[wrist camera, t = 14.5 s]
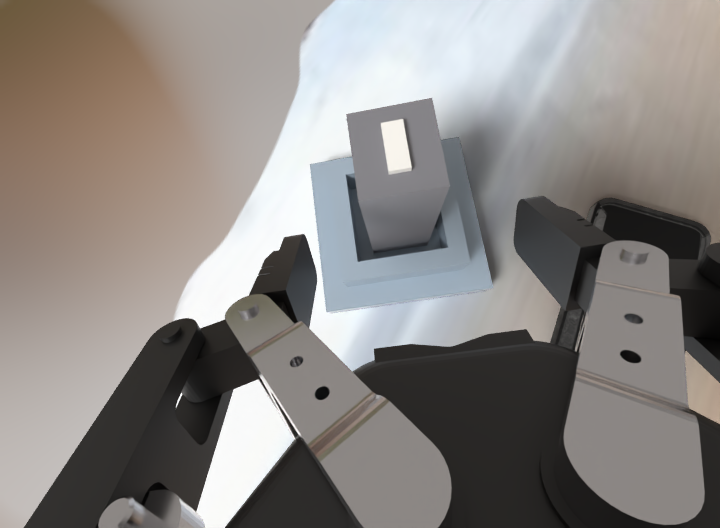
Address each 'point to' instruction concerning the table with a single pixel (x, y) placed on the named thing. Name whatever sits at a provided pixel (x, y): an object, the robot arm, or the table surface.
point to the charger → (398, 173)
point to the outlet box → (398, 267)
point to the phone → (640, 226)
